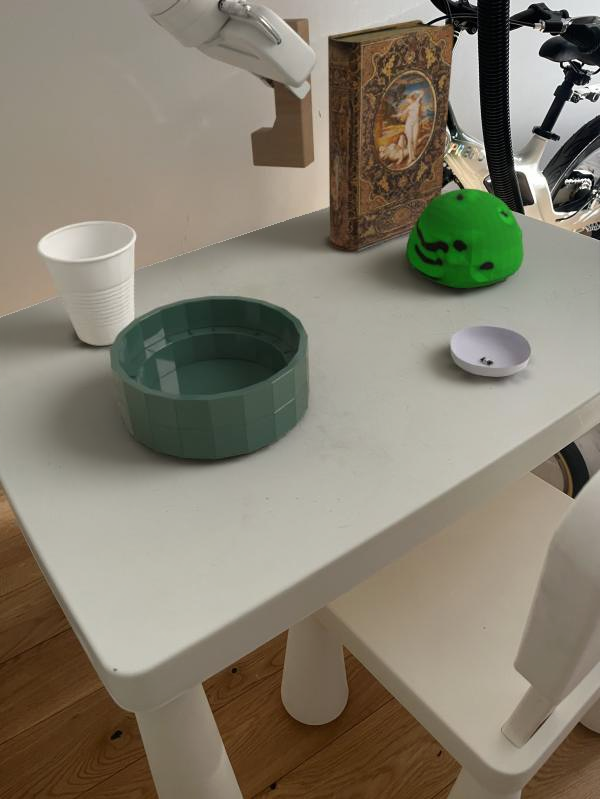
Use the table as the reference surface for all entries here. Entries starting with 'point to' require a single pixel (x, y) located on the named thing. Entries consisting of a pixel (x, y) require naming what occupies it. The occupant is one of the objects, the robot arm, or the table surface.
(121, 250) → the cup
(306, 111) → the wooden block
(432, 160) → the book
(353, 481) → the table surface
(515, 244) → the toy
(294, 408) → the bowl
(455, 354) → the white shallow round dish
